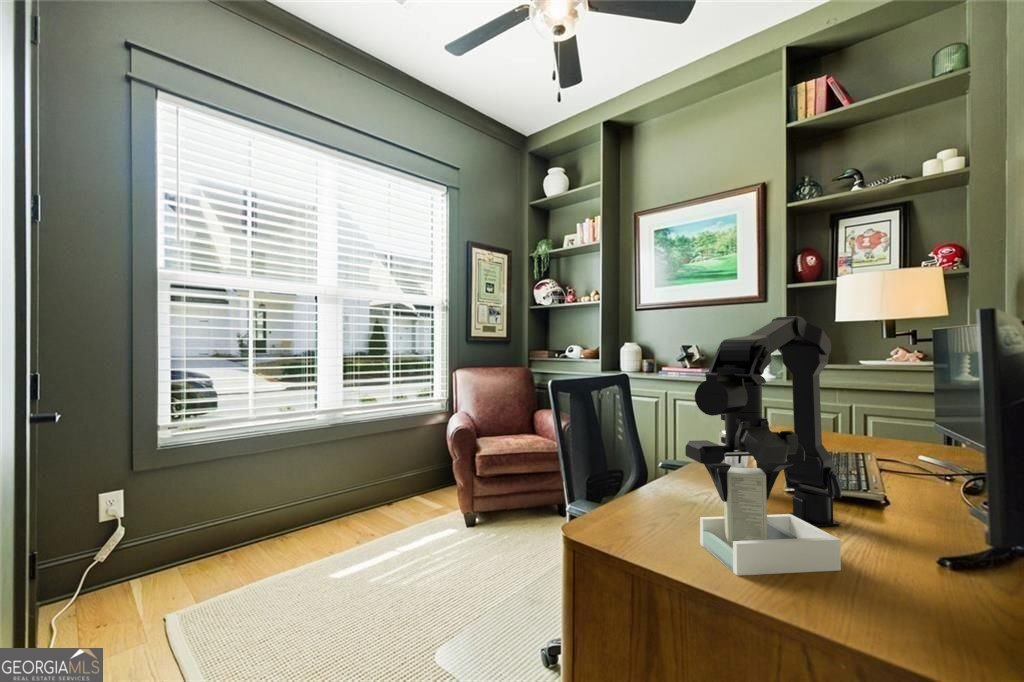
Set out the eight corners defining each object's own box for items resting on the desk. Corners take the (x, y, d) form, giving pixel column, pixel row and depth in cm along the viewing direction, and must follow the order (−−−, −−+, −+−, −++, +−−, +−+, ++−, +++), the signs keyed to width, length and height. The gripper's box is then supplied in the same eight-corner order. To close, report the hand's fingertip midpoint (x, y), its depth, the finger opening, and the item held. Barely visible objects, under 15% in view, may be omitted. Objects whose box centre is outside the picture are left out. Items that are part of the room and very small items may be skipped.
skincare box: (762, 537, 76) (761, 468, 76) (768, 548, 71) (767, 475, 72) (722, 532, 78) (722, 464, 78) (726, 542, 73) (726, 471, 74)
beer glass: (753, 496, 106) (752, 435, 106) (722, 494, 107) (722, 434, 108) (743, 487, 113) (743, 430, 113) (715, 485, 114) (715, 429, 114)
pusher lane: (790, 540, 81) (790, 514, 81) (840, 570, 70) (840, 539, 70) (700, 544, 79) (699, 517, 79) (736, 575, 68) (736, 543, 68)
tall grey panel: (763, 539, 79) (763, 518, 79) (797, 561, 71) (796, 537, 71) (758, 539, 79) (758, 518, 79) (791, 561, 71) (791, 537, 71)
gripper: (719, 418, 66) (720, 521, 66) (831, 416, 68) (832, 516, 67) (683, 408, 77) (684, 496, 77) (780, 407, 79) (781, 492, 79)
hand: (744, 500), depth 75 cm, fingers closed on skincare box, 7 cm apart
